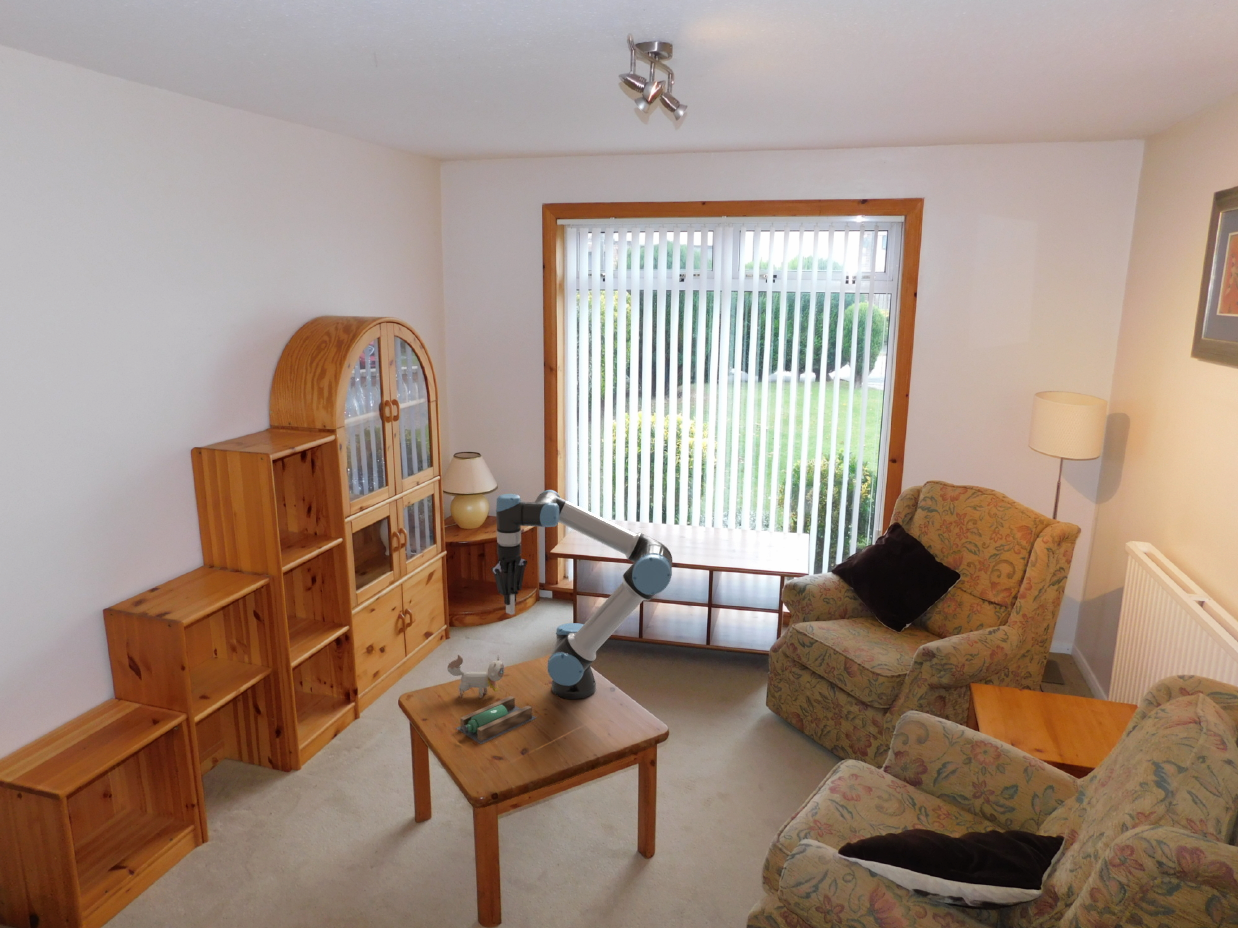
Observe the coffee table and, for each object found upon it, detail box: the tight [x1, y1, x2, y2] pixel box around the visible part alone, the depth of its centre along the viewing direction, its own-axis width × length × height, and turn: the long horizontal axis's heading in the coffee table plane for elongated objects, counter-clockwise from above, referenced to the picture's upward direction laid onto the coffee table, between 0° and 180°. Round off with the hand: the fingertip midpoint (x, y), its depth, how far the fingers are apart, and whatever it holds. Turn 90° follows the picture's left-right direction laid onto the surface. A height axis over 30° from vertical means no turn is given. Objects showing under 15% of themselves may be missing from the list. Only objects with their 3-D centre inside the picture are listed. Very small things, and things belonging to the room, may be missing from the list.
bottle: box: [462, 705, 508, 735], centre depth 258 cm, size 5×5×15 cm
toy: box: [447, 654, 505, 699], centre depth 277 cm, size 9×19×15 cm, turn 89°
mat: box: [455, 705, 537, 745], centre depth 262 cm, size 22×13×1 cm, turn 136°
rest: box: [459, 695, 533, 741], centre depth 261 cm, size 20×11×4 cm, turn 136°
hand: (510, 612), depth 267 cm, fingers closed
